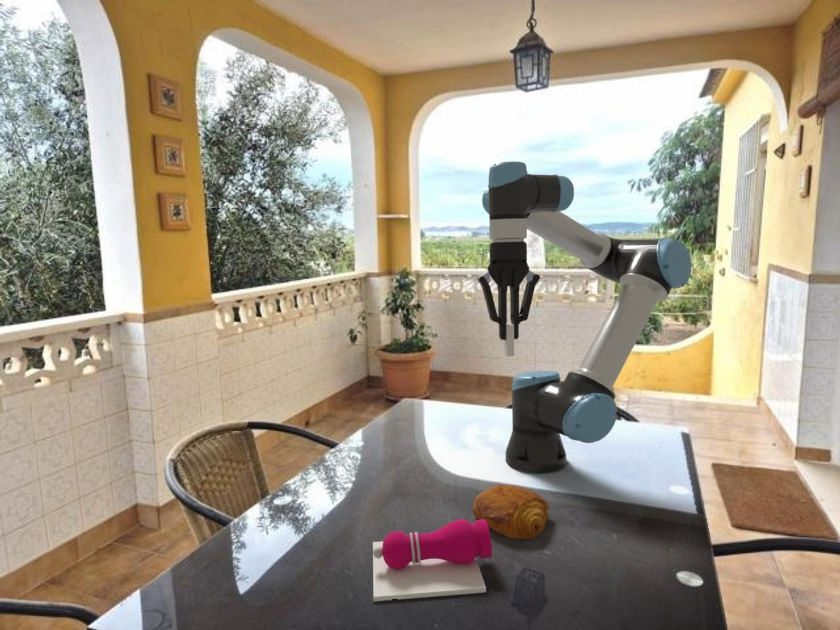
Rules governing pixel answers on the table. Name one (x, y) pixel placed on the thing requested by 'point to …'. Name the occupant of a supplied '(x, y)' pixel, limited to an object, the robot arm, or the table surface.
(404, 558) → the pepper mill
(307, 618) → the table surface
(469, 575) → the white mat
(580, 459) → the table surface
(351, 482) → the table surface
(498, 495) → the croissant
